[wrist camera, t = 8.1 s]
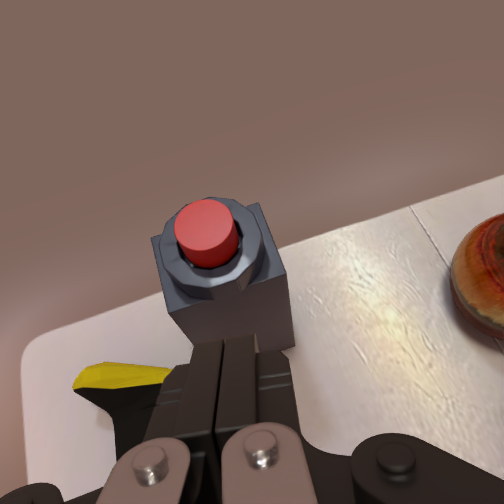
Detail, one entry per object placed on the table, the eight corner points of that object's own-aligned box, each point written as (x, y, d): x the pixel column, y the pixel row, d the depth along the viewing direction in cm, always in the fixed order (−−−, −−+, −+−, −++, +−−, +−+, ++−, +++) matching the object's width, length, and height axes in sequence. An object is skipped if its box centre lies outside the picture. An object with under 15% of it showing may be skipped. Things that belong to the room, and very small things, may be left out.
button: (230, 212, 30) (224, 191, 28) (245, 257, 28) (240, 238, 26) (178, 229, 29) (168, 210, 27) (190, 276, 28) (180, 258, 26)
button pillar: (274, 289, 46) (254, 181, 30) (296, 348, 43) (286, 262, 27) (199, 314, 45) (140, 219, 30) (216, 375, 42) (159, 305, 27)
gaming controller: (103, 561, 36) (222, 529, 36) (71, 571, 31) (209, 535, 31) (93, 379, 44) (193, 352, 44) (66, 364, 39) (178, 335, 39)
